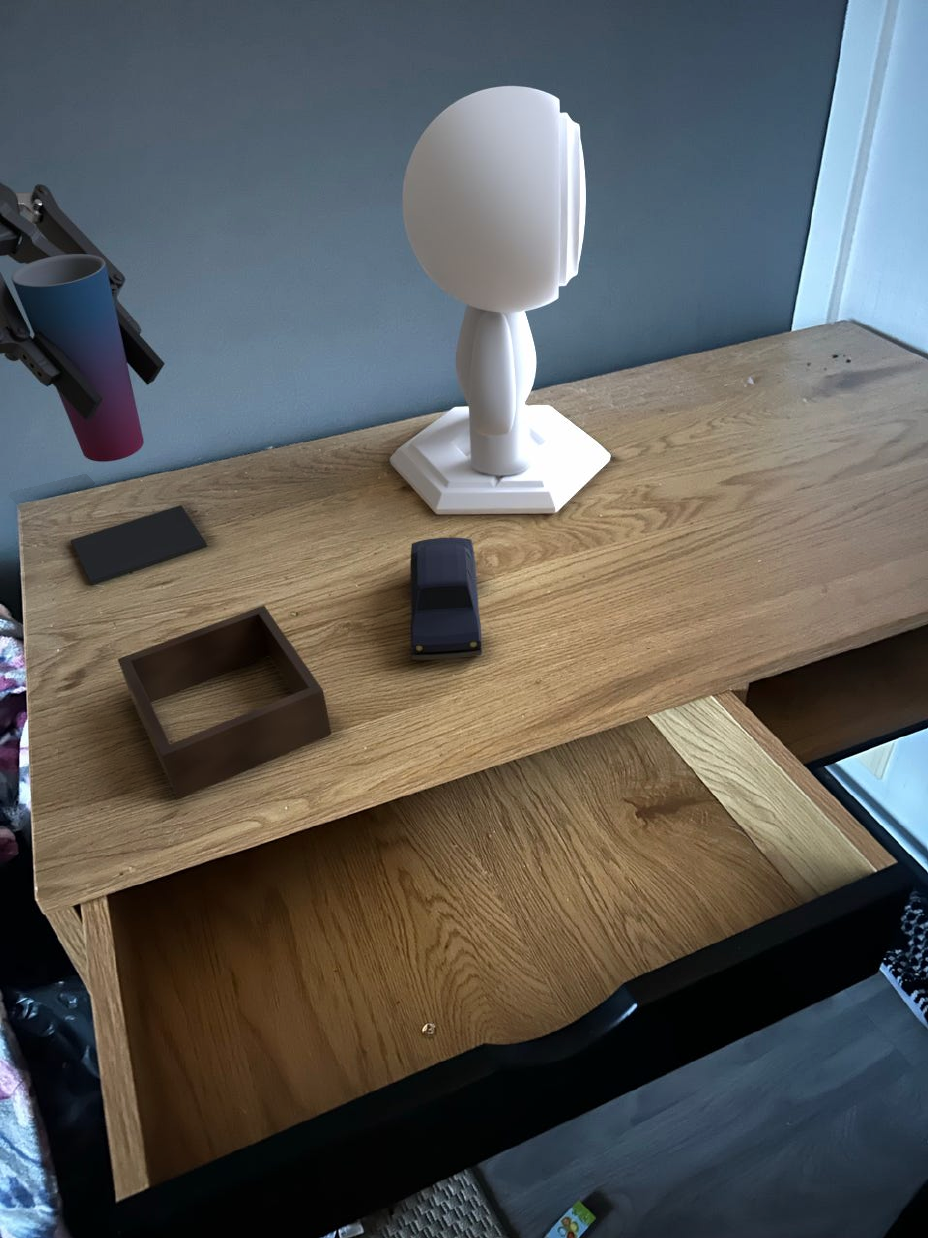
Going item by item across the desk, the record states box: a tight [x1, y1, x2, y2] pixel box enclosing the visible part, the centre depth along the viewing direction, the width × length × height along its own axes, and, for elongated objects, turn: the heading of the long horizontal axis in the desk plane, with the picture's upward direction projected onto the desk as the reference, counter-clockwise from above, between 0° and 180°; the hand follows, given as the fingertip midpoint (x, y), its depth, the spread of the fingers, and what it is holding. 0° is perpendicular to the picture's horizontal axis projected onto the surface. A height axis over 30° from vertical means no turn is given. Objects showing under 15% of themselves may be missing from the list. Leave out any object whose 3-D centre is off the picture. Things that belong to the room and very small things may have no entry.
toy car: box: [409, 536, 484, 661], centre depth 82 cm, size 6×15×5 cm, turn 2°
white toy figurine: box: [389, 85, 611, 515], centre depth 92 cm, size 20×23×35 cm
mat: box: [70, 504, 208, 586], centre depth 94 cm, size 11×8×1 cm
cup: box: [10, 254, 145, 463], centre depth 78 cm, size 7×7×15 cm
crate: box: [117, 605, 332, 800], centre depth 73 cm, size 12×12×4 cm
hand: (125, 390), depth 78 cm, fingers closed on cup, 6 cm apart
